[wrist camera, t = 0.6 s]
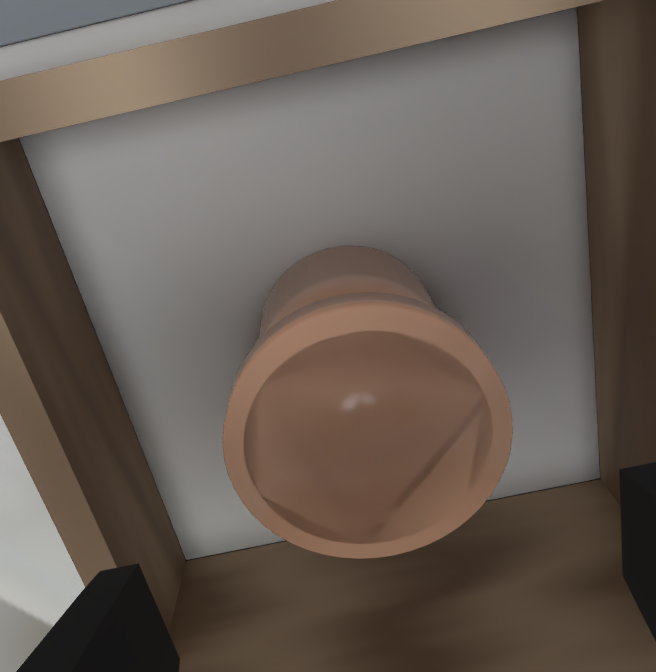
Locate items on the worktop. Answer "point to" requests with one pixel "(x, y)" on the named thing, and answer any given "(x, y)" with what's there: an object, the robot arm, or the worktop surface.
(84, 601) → the robot arm
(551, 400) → the worktop surface
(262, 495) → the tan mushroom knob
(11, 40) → the slate mat
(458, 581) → the shallow wooden tray
